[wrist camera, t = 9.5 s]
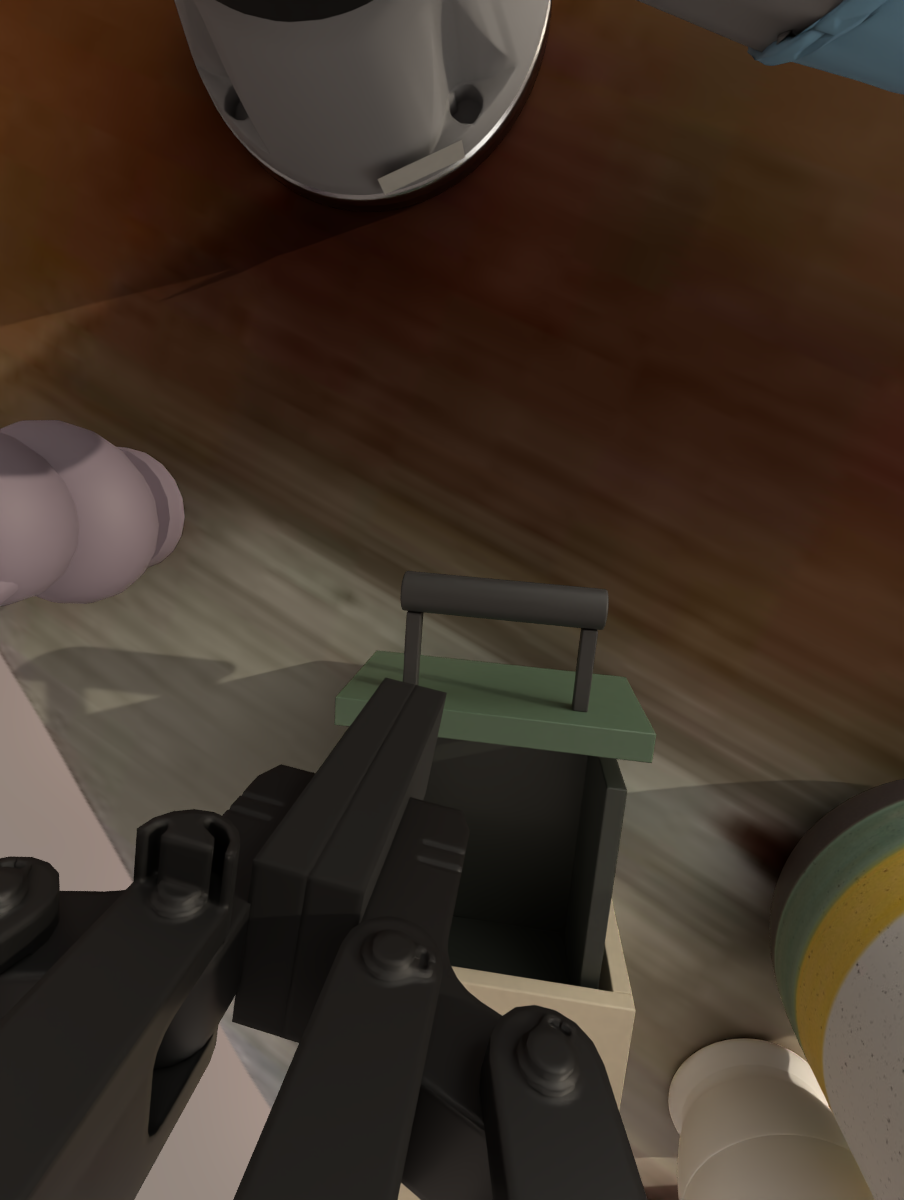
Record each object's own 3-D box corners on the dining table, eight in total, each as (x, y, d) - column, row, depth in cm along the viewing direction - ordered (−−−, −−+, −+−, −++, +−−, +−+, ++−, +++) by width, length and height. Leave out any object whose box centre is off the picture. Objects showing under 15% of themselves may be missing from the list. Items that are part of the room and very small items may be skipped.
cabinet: (360, 837, 33) (305, 956, 25) (606, 872, 32) (636, 1010, 23) (348, 1066, 36) (296, 1240, 28) (573, 1106, 35) (589, 1303, 26)
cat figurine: (234, 510, 30) (54, 525, 19) (148, 617, 32) (-66, 692, 20) (109, 394, 30) (-155, 336, 18) (29, 509, 32) (-260, 522, 20)
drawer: (381, 552, 29) (339, 571, 22) (640, 575, 28) (676, 603, 21) (363, 900, 33) (323, 1005, 26) (590, 934, 32) (607, 1054, 25)
